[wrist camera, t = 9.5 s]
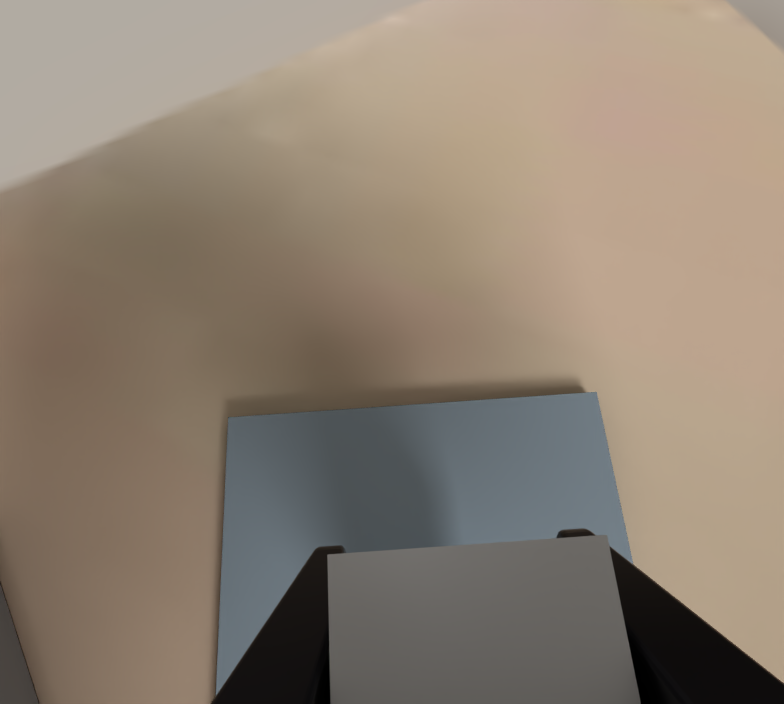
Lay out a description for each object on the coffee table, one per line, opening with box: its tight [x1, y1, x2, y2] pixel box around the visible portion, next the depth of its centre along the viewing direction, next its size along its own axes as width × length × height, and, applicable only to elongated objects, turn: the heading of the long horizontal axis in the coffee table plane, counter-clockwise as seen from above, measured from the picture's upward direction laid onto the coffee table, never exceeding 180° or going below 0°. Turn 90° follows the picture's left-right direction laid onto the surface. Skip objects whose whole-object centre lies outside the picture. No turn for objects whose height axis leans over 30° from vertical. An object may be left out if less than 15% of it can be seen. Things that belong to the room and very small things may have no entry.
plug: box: [327, 535, 641, 704], centre depth 9 cm, size 3×3×9 cm
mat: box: [216, 392, 633, 695], centre depth 16 cm, size 12×12×1 cm
